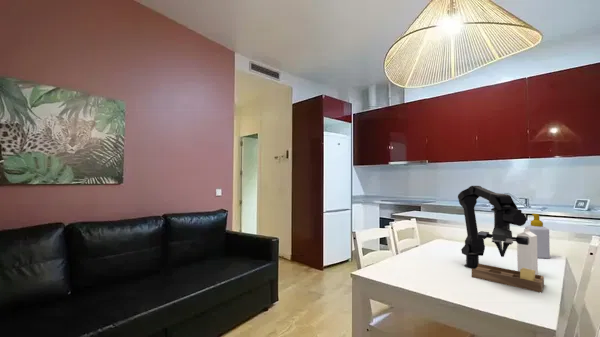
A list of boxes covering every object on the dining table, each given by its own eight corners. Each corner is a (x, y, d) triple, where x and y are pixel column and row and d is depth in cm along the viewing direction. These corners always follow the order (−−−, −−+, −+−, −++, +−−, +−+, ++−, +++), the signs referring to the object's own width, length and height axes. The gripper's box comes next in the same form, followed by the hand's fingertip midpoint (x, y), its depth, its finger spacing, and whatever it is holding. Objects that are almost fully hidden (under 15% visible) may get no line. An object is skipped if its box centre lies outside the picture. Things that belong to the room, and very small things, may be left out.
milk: (537, 274, 137) (537, 229, 137) (532, 276, 134) (531, 230, 134) (523, 271, 142) (522, 227, 142) (517, 272, 139) (516, 228, 139)
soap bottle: (541, 254, 171) (540, 213, 172) (550, 259, 163) (550, 215, 163) (524, 253, 173) (523, 213, 174) (532, 258, 165) (532, 214, 165)
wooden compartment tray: (478, 271, 141) (478, 263, 141) (544, 284, 124) (543, 276, 124) (471, 277, 133) (471, 268, 133) (541, 292, 115) (541, 283, 115)
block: (522, 279, 124) (523, 267, 124) (534, 282, 120) (535, 270, 120) (520, 281, 121) (520, 269, 121) (532, 284, 118) (532, 272, 118)
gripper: (473, 221, 129) (474, 256, 128) (525, 226, 115) (526, 265, 115) (479, 219, 136) (480, 251, 136) (529, 223, 123) (529, 259, 123)
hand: (502, 256), depth 127 cm, fingers closed
